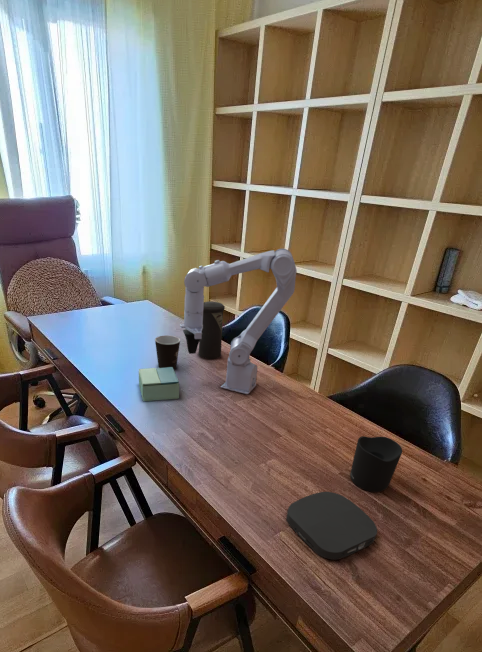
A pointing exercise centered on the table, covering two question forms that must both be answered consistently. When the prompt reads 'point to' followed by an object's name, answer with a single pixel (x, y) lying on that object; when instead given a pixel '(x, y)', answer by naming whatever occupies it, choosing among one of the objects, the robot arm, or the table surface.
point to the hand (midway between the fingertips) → (191, 352)
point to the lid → (167, 375)
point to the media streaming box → (331, 524)
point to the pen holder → (375, 462)
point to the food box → (156, 386)
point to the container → (211, 330)
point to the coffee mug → (167, 351)
